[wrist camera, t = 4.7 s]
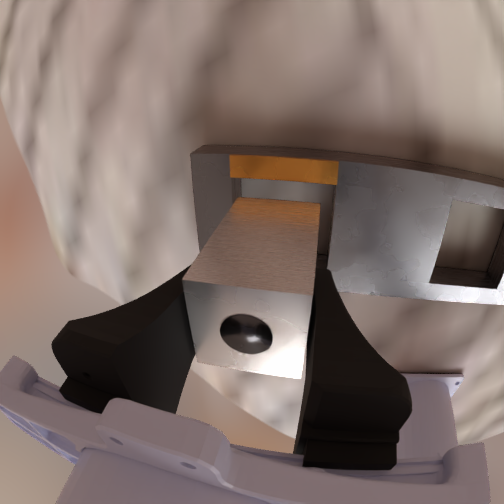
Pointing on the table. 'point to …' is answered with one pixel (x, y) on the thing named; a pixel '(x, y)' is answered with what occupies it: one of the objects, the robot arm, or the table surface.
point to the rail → (365, 216)
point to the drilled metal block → (255, 287)
